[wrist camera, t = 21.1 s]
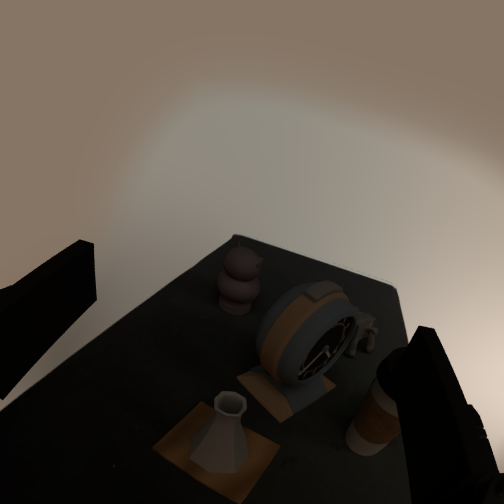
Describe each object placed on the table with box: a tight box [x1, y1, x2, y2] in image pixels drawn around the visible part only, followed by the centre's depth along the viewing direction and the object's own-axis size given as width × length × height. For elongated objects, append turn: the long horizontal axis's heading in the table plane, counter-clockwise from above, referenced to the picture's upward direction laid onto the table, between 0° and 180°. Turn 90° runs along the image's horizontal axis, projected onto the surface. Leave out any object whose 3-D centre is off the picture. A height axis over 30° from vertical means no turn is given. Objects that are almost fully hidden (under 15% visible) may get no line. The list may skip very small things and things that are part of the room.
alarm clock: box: [236, 281, 357, 423], centre depth 41 cm, size 14×10×18 cm
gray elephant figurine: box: [345, 307, 378, 357], centre depth 53 cm, size 9×12×8 cm
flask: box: [189, 391, 248, 473], centre depth 30 cm, size 7×7×10 cm
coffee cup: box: [345, 347, 407, 456], centre depth 33 cm, size 8×8×15 cm
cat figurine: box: [217, 240, 264, 315], centre depth 58 cm, size 8×8×12 cm
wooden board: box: [152, 401, 281, 504], centre depth 32 cm, size 12×10×1 cm
